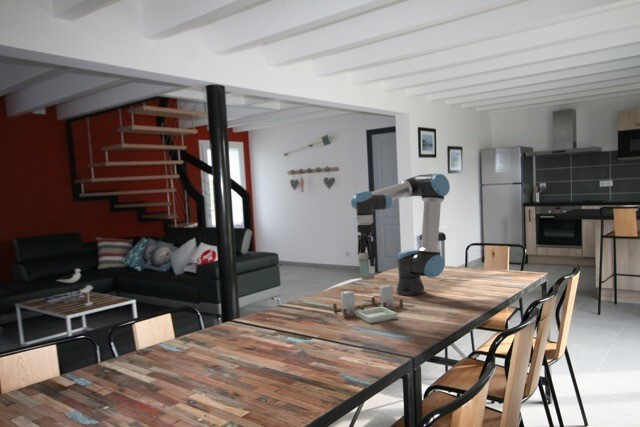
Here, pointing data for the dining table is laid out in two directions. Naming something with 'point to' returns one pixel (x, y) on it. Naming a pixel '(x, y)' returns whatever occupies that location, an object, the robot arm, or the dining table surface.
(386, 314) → the tray
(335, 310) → the rack
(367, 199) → the robot arm
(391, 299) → the white rounded block
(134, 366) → the dining table surface
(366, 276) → the coffee cup
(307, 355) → the dining table surface
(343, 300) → the white rounded capsule
